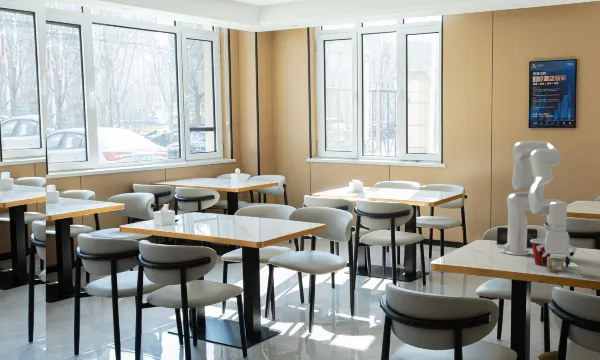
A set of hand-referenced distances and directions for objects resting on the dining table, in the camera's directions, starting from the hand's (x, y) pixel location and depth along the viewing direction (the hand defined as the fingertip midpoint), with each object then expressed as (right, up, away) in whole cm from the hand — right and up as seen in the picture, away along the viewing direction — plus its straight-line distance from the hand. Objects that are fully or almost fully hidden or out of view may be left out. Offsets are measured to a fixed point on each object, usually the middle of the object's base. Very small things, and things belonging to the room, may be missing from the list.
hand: (555, 265), depth 298 cm
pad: (+11, -1, +15) cm, 19 cm away
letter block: (0, -3, +1) cm, 3 cm away
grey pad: (+3, -3, -8) cm, 9 cm away
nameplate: (+3, +2, +62) cm, 62 cm away
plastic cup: (-1, -2, +14) cm, 14 cm away
